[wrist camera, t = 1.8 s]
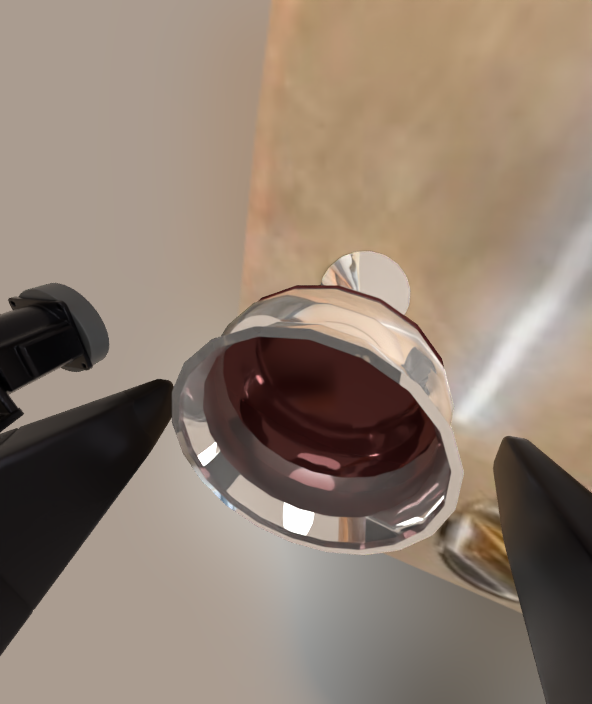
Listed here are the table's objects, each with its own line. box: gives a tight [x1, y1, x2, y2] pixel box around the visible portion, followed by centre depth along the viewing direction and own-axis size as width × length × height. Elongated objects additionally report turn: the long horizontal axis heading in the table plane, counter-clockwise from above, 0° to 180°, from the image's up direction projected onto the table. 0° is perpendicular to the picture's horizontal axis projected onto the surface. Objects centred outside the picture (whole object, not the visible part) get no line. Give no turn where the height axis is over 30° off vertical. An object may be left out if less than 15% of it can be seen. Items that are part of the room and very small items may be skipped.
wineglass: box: [172, 251, 464, 555], centre depth 12 cm, size 7×7×12 cm
